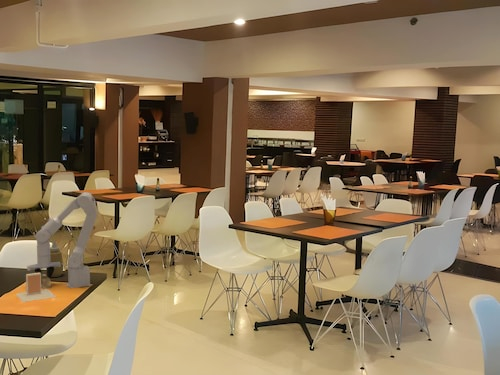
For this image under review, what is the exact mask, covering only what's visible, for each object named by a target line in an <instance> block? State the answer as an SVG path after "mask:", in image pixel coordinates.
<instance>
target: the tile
mask: <svg viewBox="0 0 500 375" xmlns="http://www.w3.org/2000/svg"><path fill="white" fill-rule="evenodd" d="M25 285H26V287H25V288H26V291H25V292H26V293H27V295H31V294H38V293H42V292H41V290H42V287H41V273H35V272H34V273H33V272H32V273H26V275H25Z"/></svg>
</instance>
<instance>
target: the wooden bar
mask: <svg viewBox="0 0 500 375" xmlns="http://www.w3.org/2000/svg"><path fill="white" fill-rule="evenodd" d="M51 279H52V278H51ZM51 279H50V278H49V277H47V274H45V273H44V274H42V285H41V289H42V290H44V289H52V287H51V286H52V284H51Z"/></svg>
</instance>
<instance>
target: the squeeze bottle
mask: <svg viewBox="0 0 500 375" xmlns="http://www.w3.org/2000/svg"><path fill="white" fill-rule="evenodd" d="M62 253H63V252H61V251H60V247H59V246H58V244H57V241H56V240H55V239H53V240H52V244H51V246H50V262H60V264H61V267H54V272H53V274H52V276H51V278H58V277H61V276H62V275H63V272H64V262H63V256H62ZM45 269H46V268H45ZM46 271H47V269H46Z"/></svg>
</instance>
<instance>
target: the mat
mask: <svg viewBox="0 0 500 375" xmlns="http://www.w3.org/2000/svg"><path fill="white" fill-rule="evenodd" d="M41 292H42V293H38V294H31V295H27V293H26V291H24V292H18V293H15V295H16V297H18V299H19V300H20V301H21V303H28V302H32V301H33V302H34V301H39V300H40V301H41V300H45V299H53V298H57V296H56V295H55V294H54V293H53V292H52V291H51V290H50V288H47V289H41Z"/></svg>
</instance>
